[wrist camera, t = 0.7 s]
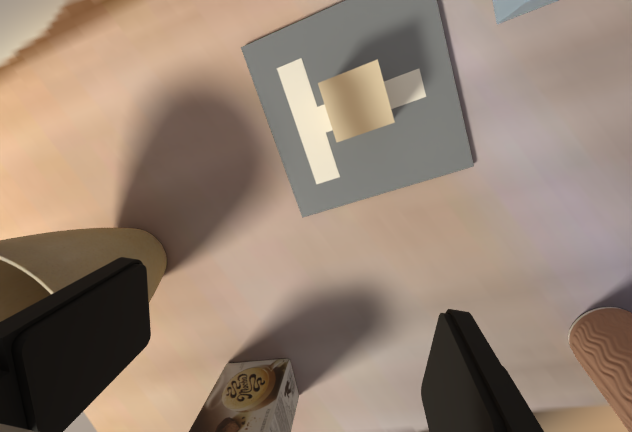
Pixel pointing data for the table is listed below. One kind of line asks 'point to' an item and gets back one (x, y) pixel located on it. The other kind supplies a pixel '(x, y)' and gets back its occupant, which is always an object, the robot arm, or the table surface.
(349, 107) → the wood block
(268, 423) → the coffee box
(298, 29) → the letter board
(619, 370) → the coffee cup
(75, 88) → the table surface
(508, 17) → the blue cube
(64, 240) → the plant pot
